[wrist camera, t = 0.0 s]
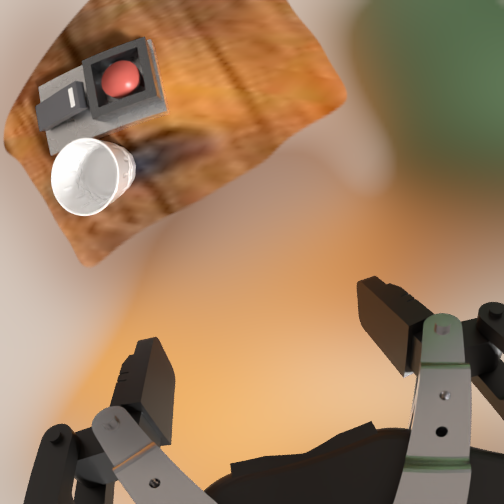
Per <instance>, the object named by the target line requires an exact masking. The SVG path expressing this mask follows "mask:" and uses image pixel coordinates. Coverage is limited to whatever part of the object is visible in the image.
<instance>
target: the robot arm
mask: <svg viewBox="0 0 504 504" xmlns="http://www.w3.org/2000/svg"><path fill="white" fill-rule="evenodd" d="M357 297H358V311H359V319H360V322H361V325H362V327H363V328H364V330H365V331H366V332H367V333H368V334H369V336H370V337H371V338H372V339H373V341H374V342H375V343H376V344H377V345H378V347H379V348H380V349H381V350H382V351H383V352H384V354H385V355H386V356H387V358H388V359H389V360H390V361H391V363H392V364H393V365H394V366H395V367H396V369H397V370H398V371H399V372H400V374H401V375H402V376H403V377H406V376H409V375H410V374H413V373H414V374H415V375H416V376H417V378H416V384H415V391H414V398H413V404H412V410H411V415H410V420H409V425H408V429H405V428H382V429H375V427H374V425H373V424H372V421H370V422H368V423H366V424H363V425H361V426H358V427H356V428H353V429H351V430H348V431H345V432H343V433H340V434H338V435H336V436H335V437H333V438H331V439H330V440H328V441H327V442H325V443H323V444H321V445H319V446H318V447H316V448H314V449H312V450H311V451H309V452H307V453H303V454H293V455H278V456H264V457H259V458H255V459H250V460H246V461H241V462H236V463H231V464H230V465H231V474H228V475H226V476H224V477H222V478H220V479H219V480H217V481H216V482H214V483H213V484H211V485H210V486H209V487H208V488H206V489H205V490H204V491H203V490H201V489H200V488H199V487H198V486H197V485H195V483H194V482H193V481H192V480H191V479H189V478H188V477H187V476H186V475H185V474H184V473H183V472H182V471H181V470H180V469H179V468H178V467H177V466H176V465H175V464H174V463H173V462H172V461H171V460H170V459H169V458H168V457H167V455H166V454H165V453H164V452H163V451H162V450H161V449H160V446H164V445H171V437H172V419H173V404H174V390H175V374H174V371H173V368H172V365H171V363H170V361H169V360H168V357H167V355H166V353H165V351H164V349H163V347H162V345H161V343H160V341H159V339H158V338H157V337H153V338H149V339H144V340H140V341H138V342H137V345H136V349H135V352H134V354H133V355H129V356H128V358H127V359H126V360H125V362H124V363H123V364H122V367H121V370H120V375H119V377H118V380H117V381H118V383H116V386H115V390H114V393H113V397H112V400H111V404H110V407H108V408H105V409H103V410H102V411H100V412H99V413H98V414H97V415H96V416H95V418H94V419H93V422H92V427H90V428H87V429H84V430H81V431H78V432H75V433H74V431H73V430H72V429H71V428H70V427H69V426H68V425H66V424H57V425H55V426H52V427H51V428H50V429H48V430H47V431H46V432H45V434H44V436H43V437H42V440H41V443H40V446H39V449H38V452H37V456H36V459H35V462H34V466H33V469H32V473H31V476H30V480H29V484H28V488H27V491H26V496H25V500H24V504H113V496H114V484H115V481H117V480H119V481H120V482H121V484H122V485H123V487H124V488H125V490H126V491H127V492H128V494H129V495H130V496H131V498H132V499H133V501H134V502H135V503H136V504H504V454H502V453H496V452H492V451H487V450H483V449H478V448H474V447H471V446H470V440H471V414H472V413H471V412H472V410H471V408H472V407H471V406H472V403H471V401H472V400H471V399H472V397H471V381H472V383H473V384H474V385H475V386H476V387H477V388H478V390H479V391H480V392H481V393H482V394H483V396H484V397H485V398H486V399H487V400H488V402H489V403H490V404H491V405H492V406H493V408H494V409H495V410H496V411H497V413H498V414H499V415H500V416H501V417H502V419H503V420H504V362H503V361H502V360H501V359H500V358H501V355H502V353H503V354H504V304H501V303H498V302H489V303H486V304H483V305H482V306H481V307H480V308H479V312H478V317H477V318H475V319H471V320H467V321H462V322H460V320H459V319H458V318H457V317H455V316H453V315H450V314H445V313H439V314H433V313H432V312H431V311H430V310H429V309H427V308H426V307H425V306H424V305H423V304H421V303H420V302H419V301H417V300H416V299H414V297H412V296H411V295H410V294H408V293H407V292H406V291H405V290H404V289H402V288H401V287H399V286H396V285H393V284H390V283H389V284H385V283H384V282H383V281H381V280H380V279H379V278H378V277H376V276H373V277H370V278H367V279H364V280H361V281H358V282H357ZM74 478H75V479H76V480H77V484H76V491H75V497H74V500H73V498H72V487H73V481H74Z"/></svg>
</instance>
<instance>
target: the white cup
mask: <svg viewBox="0 0 504 504" xmlns="http://www.w3.org/2000/svg"><path fill="white" fill-rule="evenodd" d="M135 170H136V164H135V162H134V159H133V156H132V154H131V153H130V152H129V151H127V150H126V149H125V148H124V147H122V146H118V145H117V144H114V143H111V142H107V141H103V140H98V139H94V138H79V139H76V140H74V141H72V142H70V143H68V144H67V145H66V146H65V147H64V148H63V149H62V150H61V151H60V152H59V154H58V155H57V157H56V159H55V161H54V164H53V167H52V172H51V184H52V189H53V192H54V195H55V197H56V199H57V201H58V202H59V203H60V205H61V206H62V207H63V208H64V209H66V210H67V211H69V212H70V213H73V214H75V215H80V216H88V215H93V214H96V213H98V212H100V211H101V210H103V209H104V208H105V207H107V206H108V205H109V204H111V203H112V202H113V201H115V200H116V199H117V198H118V197H119V196H121V195H122V194H123V193H124V192H125V190H127V189H128V188H129V187H130V186H131V184H132V182H133V180H134V178H135Z"/></svg>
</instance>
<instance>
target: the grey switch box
mask: <svg viewBox="0 0 504 504" xmlns="http://www.w3.org/2000/svg"><path fill="white" fill-rule="evenodd" d="M118 61H130V62H132V63H133V64H134V65H135V66H136V67H137V68H138V69H139V71H140V73H141V83H140V86H139V88H138V89H137V91H136V92H135V93H134V94H132V95H130V96H128V97H125V98H122V99H116V98H113V97H111V96H109V95H108V94H106V93H105V92H104V90H103V88H102V84H101V81H102V76H103V74H104V72H105V70H106V69H107V68H108V67H109V66H110V65H112V64H113V63H115V62H118ZM74 81H80V82H83V84H84V90H85V95H86V100H87V105H88V108H87V109H85V110H83V111H82V112H80V113H78V114H76V115H74V116H72V117H70V118H69V119H67V120H65V121H63V122H62V123H60V124H58V125H57V126H55V127H53V128H52V129H50V130H48V131H46V136H47V140H48V145H49V150H50V154H51V156H54V155H58V154H59V152H60V151H61V150H62V149H63V148H64V147H65V146H66V145H67V144H68V143H70V142H72V141H74V140H76V139H79V138H94V139H99V138H102V137H104V136H107V135H109V134H112V133H115V132H117V131H120V130H123V129H126V128H128V127H131V126H134V125H137V124H140V123H143V122H146V121H149V120H152V119H155V118H158V117H162V116H165V115H168V114H170V112H169V107H168V103H167V99H166V95H165V90H164V86H163V82H162V77H161V73H160V68H159V64H158V59H157V55H156V50H155V46H154V44H153V42H152V40H151V39H149V40H146V38H145V37H142V38H139V39H136V40H133V41H130V42H127V43H125V44H122V45H119V46H116V47H114V48H111V49H109V50H106V51H104V52H101V53H99V54H96V55H94V56H92V57H89V58H87V59H85V60H83V61H82V65H81V66H79V67H77V68H75V69H73V70H71V71H68V72H66V73H64V74H62V75H60V76H58V77H56V78H55V79H53V80H51V81H49V82H47V83H45V84H43V85H41V86H40V87H39V95H40V102H43V101H44V100H46V99H47V98H49V97H50V96H52V95H53V94H55V93H56V92H58V91H59V90H61V89H63V88H64V87H66V86H67V85H69V84H71V83H72V82H74Z"/></svg>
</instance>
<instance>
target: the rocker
mask: <svg viewBox="0 0 504 504" xmlns="http://www.w3.org/2000/svg"><path fill="white" fill-rule="evenodd" d="M35 107H36V114H37V120H38V125H39V131H40V132H41V131H48V130H50V129H52V128H53V127H55V126H57V125H58V124H60V123H62V122H63V121H65V120H67V119H69V118H70V117H72V116H74V115H76V114H78V113H80V112H82V111H83V110H85V109H87V108H88V105H87V100H86V95H85V90H84V84H83V82H80V81H74V82H72V83H71V84H69V85H67V86H66V87H64V88H63V89H61V90H59V91H58V92H56V93H55V94H53V95H52V96H50V97H49V98H47V99H46V100H44V101H43V102H41V103H40V104H38V105H37V106H35Z"/></svg>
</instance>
